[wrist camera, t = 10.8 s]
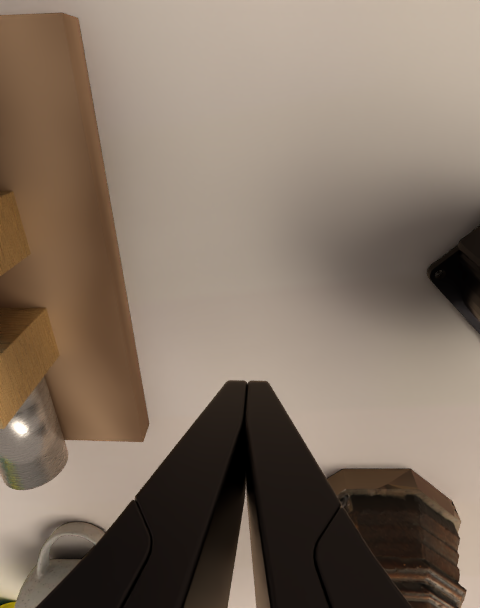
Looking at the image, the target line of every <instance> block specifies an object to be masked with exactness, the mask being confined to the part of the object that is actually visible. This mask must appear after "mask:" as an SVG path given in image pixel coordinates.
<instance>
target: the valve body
mask: <svg viewBox="0 0 480 608" xmlns="http://www.w3.org/2000/svg"><path fill="white" fill-rule="evenodd" d="M30 254H31V252H30V249H29V245H28V242H27V238H26V235H25V231H24V228H23V224H22V221H21V217H20V214H19V210H18V207H17V203H16V200H15V196H14V192H13V191H1V192H0V276H1V275H3V274H4V273H5V272H7V271H8V270H10V269H11V268H12V267H14V266H15V265H16V264H18V263H19V262H20V261H22V260H23V259H24V258H26V257H27V256H29V255H30ZM59 356H60V355H59V351H58V348H57V344H56V341H55V337H54V334H53V330H52V327H51V323H50V319H49V316H48V312H47V309H46V308H0V474H1V476H2V479H3V481H4V483H5V484H6V485H7V486H8V487H10V488H12V489H16V490H28V489H33V488H36V487H39V486H41V485H43V484H45V483H47V482H49V481H50V480H52V479H53V478H54V477H56V476H57V475H58V474H59V473H60V472H61V471H62V469H63V468H64V466H65V465H66V463H67V460H68V450H67V447H66V444H65V441H64V437H63V434H62V431H61V428H60V425H59V422H58V418H57V415H56V412H55V409H54V406H53V402H52V399H51V396H50V393H49V390H48V387H47V383H46V380H45V377H44V375H45V374H46V373H47V371H48V370H49V369H50V368H51V366H52V365H53V364H54V362H55V361H56V360H57V358H58V357H59Z"/></svg>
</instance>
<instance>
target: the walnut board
mask: <svg viewBox="0 0 480 608" xmlns="http://www.w3.org/2000/svg"><path fill="white" fill-rule="evenodd" d="M1 191H13V192H14V196H15V200H16V203H17V207H18V210H19V214H20V217H21V221H22V224H23V228H24V231H25V235H26V238H27V242H28V245H29V249H30V252H31V254H30V255H29V256H27V257H26V258H24V259H23V260H22V261H20V262H19V263H18V264H16V265H15V266H14V267H12V268H11V269H10V270H8V271H7V272H5V273H4V274H3V275H1V276H0V308H46V309H47V312H48V316H49V319H50V323H51V327H52V330H53V334H54V337H55V341H56V344H57V348H58V351H59V355H60V356H59V357H58V358H57V360H56V361H55V362H54V364H53V365H52V366H51V368H50V369H49V370H48V371H47V373H46V374H45V375H44V377H45V380H46V383H47V387H48V390H49V393H50V396H51V399H52V402H53V406H54V409H55V412H56V415H57V418H58V422H59V425H60V428H61V431H62V434H63V437H64V440H92V441H128V442H143V441H144V438H145V435H146V432H147V429H148V426H149V420H148V414H147V409H146V403H145V397H144V391H143V386H142V380H141V374H140V369H139V363H138V357H137V351H136V346H135V340H134V334H133V329H132V323H131V317H130V311H129V306H128V300H127V294H126V289H125V283H124V277H123V271H122V266H121V260H120V254H119V248H118V243H117V237H116V231H115V226H114V220H113V214H112V208H111V203H110V197H109V191H108V186H107V180H106V174H105V168H104V163H103V157H102V151H101V146H100V140H99V134H98V128H97V123H96V117H95V111H94V106H93V100H92V94H91V88H90V83H89V77H88V71H87V66H86V60H85V54H84V48H83V43H82V37H81V31H80V25H79V20H78V18H76V17H73V16H70V15H67V14H64V13H44V14H20V15H0V192H1Z"/></svg>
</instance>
